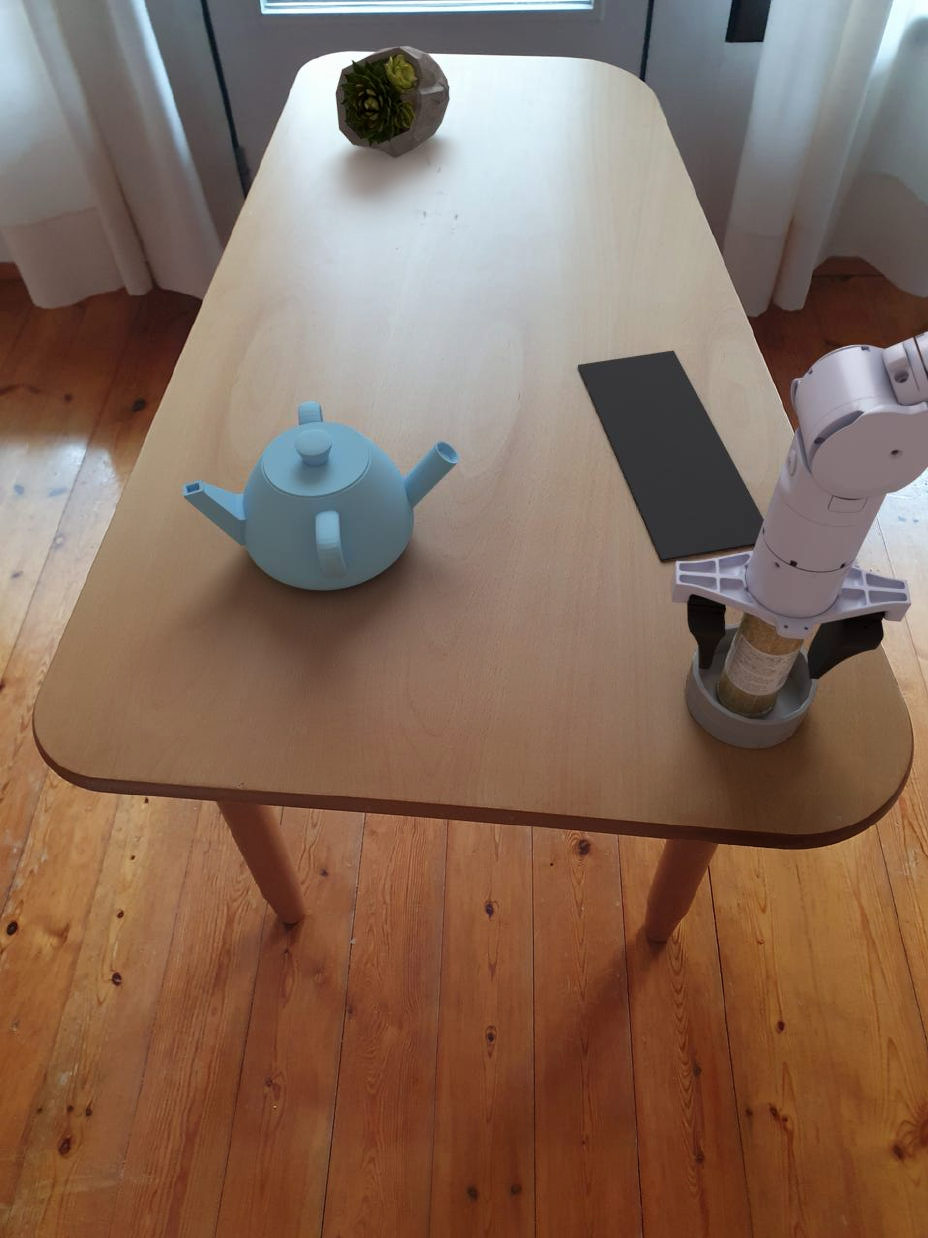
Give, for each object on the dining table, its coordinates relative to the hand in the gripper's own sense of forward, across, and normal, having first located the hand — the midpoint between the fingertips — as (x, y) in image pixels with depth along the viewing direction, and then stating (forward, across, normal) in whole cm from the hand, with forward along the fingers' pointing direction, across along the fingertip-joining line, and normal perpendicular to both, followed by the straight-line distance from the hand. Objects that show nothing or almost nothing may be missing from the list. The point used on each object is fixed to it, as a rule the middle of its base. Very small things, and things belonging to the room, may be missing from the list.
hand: (757, 662), depth 67 cm
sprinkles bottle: (+5, 0, 0) cm, 5 cm away
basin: (+5, 0, 0) cm, 5 cm away
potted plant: (+5, -40, +78) cm, 88 cm away
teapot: (+5, -34, +12) cm, 36 cm away
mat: (+5, -6, +27) cm, 28 cm away
